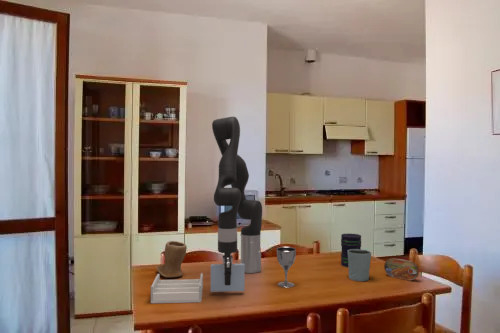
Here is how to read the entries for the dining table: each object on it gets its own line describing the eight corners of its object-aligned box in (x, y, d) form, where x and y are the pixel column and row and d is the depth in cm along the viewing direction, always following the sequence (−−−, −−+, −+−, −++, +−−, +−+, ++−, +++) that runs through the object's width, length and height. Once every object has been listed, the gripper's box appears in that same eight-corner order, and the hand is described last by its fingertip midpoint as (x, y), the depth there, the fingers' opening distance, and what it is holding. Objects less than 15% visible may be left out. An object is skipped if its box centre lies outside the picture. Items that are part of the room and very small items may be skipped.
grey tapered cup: (343, 278, 173) (343, 251, 173) (354, 273, 180) (354, 247, 180) (364, 283, 166) (364, 255, 166) (375, 278, 173) (375, 251, 173)
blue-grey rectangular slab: (244, 288, 153) (244, 263, 153) (244, 290, 151) (244, 265, 151) (210, 289, 152) (210, 264, 152) (210, 291, 150) (210, 265, 149)
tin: (383, 275, 178) (383, 257, 178) (386, 274, 180) (387, 255, 180) (417, 282, 167) (417, 263, 167) (420, 281, 170) (420, 261, 170)
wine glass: (297, 283, 166) (297, 247, 166) (293, 288, 158) (293, 251, 158) (279, 281, 168) (279, 246, 168) (274, 286, 161) (274, 250, 161)
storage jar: (363, 264, 197) (364, 234, 197) (357, 268, 189) (358, 237, 189) (344, 261, 202) (344, 232, 202) (337, 265, 194) (338, 235, 194)
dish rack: (202, 287, 159) (202, 273, 159) (201, 302, 142) (201, 285, 142) (157, 288, 157) (157, 273, 157) (150, 303, 141) (150, 286, 141)
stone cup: (189, 277, 173) (189, 243, 173) (162, 280, 168) (162, 246, 168) (180, 269, 187) (180, 237, 186) (155, 271, 182) (155, 239, 181)
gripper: (238, 242, 144) (238, 289, 145) (236, 235, 158) (236, 278, 159) (218, 243, 144) (217, 290, 144) (217, 235, 158) (217, 278, 158)
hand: (227, 283), depth 151 cm, fingers closed on blue-grey rectangular slab, 2 cm apart
